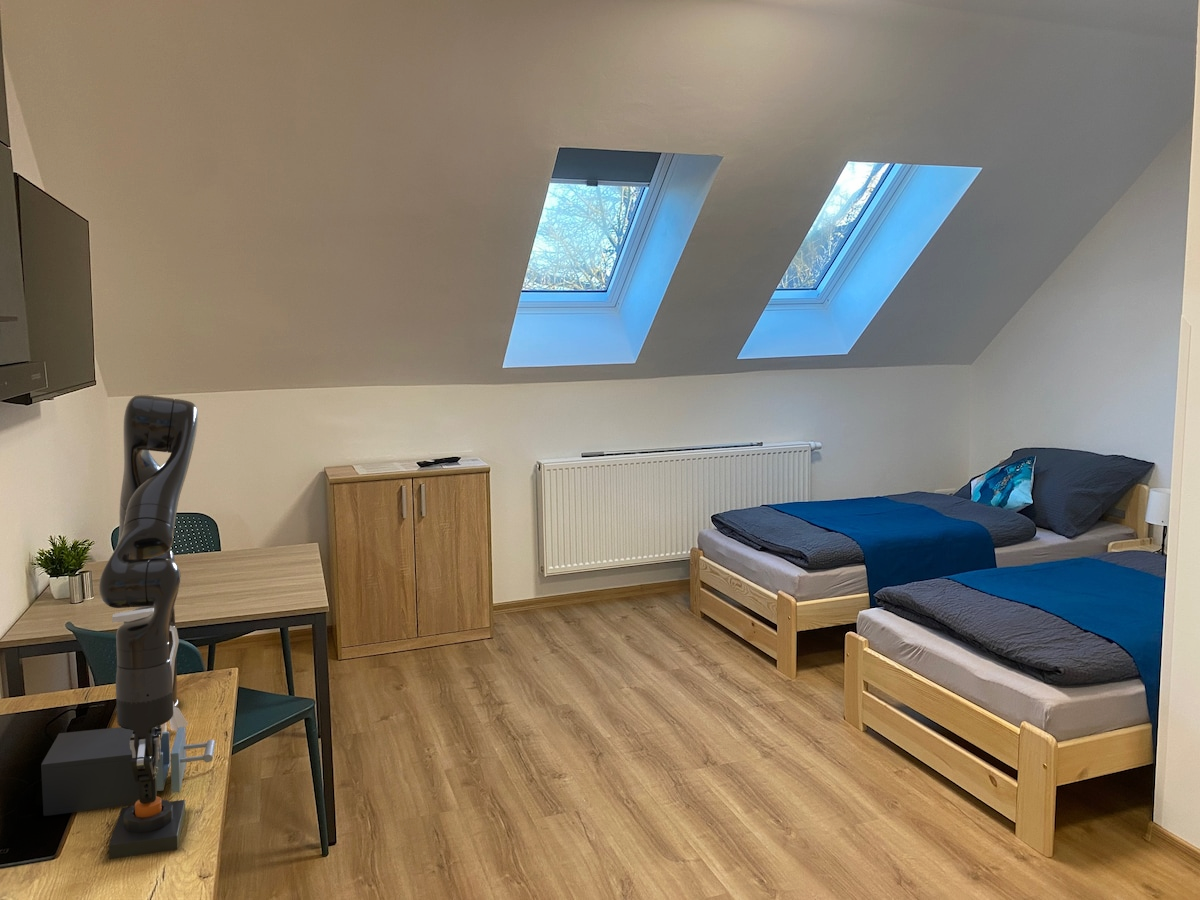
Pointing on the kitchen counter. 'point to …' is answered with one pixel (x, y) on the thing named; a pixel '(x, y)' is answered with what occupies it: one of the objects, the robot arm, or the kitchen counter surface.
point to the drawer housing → (88, 772)
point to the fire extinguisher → (177, 717)
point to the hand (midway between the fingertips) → (148, 800)
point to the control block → (147, 831)
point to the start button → (148, 808)
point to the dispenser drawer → (178, 758)
